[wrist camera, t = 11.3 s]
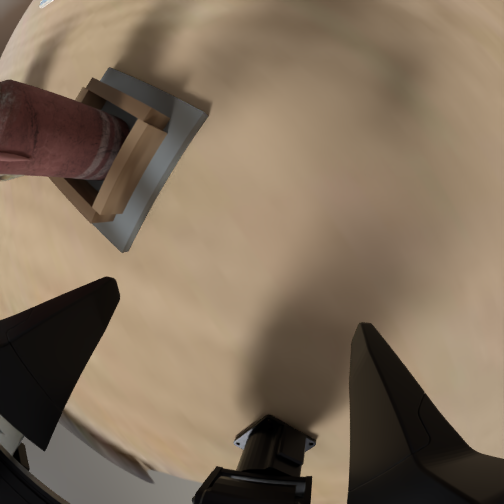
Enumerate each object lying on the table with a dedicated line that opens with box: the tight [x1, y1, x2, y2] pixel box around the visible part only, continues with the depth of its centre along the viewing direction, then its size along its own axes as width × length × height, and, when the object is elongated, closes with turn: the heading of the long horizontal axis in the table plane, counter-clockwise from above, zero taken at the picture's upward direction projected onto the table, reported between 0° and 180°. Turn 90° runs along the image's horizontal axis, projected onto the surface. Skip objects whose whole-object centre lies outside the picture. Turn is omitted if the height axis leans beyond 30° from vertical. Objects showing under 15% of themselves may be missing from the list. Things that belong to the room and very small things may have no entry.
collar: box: [49, 67, 208, 253], centre depth 21 cm, size 14×14×4 cm
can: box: [0, 80, 130, 181], centre depth 15 cm, size 6×6×14 cm
